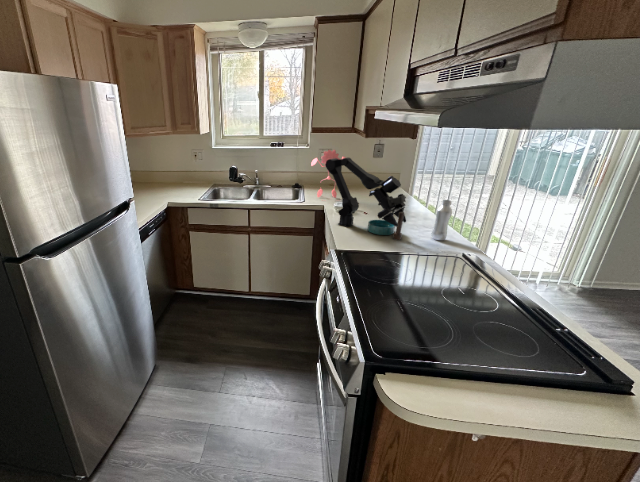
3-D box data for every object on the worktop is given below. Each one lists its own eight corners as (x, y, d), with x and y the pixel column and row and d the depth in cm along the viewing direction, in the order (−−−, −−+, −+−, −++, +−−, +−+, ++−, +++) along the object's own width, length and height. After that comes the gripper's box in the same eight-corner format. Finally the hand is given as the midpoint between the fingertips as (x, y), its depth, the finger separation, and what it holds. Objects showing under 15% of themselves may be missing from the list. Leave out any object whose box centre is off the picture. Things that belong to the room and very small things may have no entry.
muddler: (392, 238, 161) (396, 212, 156) (394, 236, 164) (399, 210, 158) (399, 240, 159) (404, 213, 154) (401, 238, 161) (406, 212, 156)
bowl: (363, 232, 170) (364, 224, 169) (372, 225, 179) (373, 218, 178) (388, 237, 162) (390, 229, 161) (396, 230, 171) (398, 223, 170)
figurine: (309, 195, 243) (312, 148, 231) (344, 197, 238) (349, 148, 225) (308, 200, 230) (311, 150, 217) (345, 202, 224) (351, 151, 211)
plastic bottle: (440, 242, 156) (450, 203, 148) (427, 238, 161) (436, 200, 154) (448, 240, 158) (458, 201, 151) (435, 236, 164) (444, 198, 157)
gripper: (387, 192, 150) (407, 220, 146) (404, 186, 161) (423, 211, 157) (369, 205, 158) (387, 231, 154) (387, 198, 169) (404, 223, 166)
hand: (401, 224), depth 158 cm, fingers open, 9 cm apart
